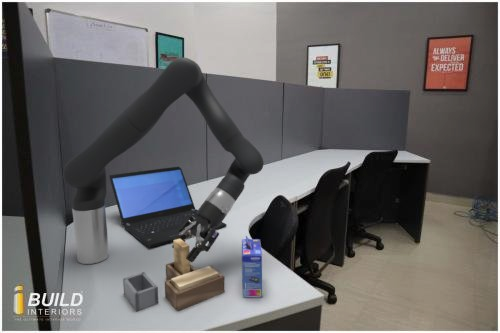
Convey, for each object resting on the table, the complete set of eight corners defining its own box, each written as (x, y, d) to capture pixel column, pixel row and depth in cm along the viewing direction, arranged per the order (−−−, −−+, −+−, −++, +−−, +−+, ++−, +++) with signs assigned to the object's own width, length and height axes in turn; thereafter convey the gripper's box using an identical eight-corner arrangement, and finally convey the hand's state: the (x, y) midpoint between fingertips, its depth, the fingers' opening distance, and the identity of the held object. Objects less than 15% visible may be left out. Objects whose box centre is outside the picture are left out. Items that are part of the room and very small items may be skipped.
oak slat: (174, 279, 96) (173, 240, 93) (181, 277, 97) (179, 238, 94) (183, 288, 91) (182, 247, 89) (190, 285, 93) (189, 245, 90)
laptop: (148, 251, 114) (145, 196, 110) (111, 219, 142) (108, 175, 138) (227, 227, 135) (227, 181, 131) (182, 204, 163) (180, 165, 159)
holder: (124, 294, 88) (123, 278, 87) (145, 287, 92) (144, 272, 91) (136, 311, 81) (135, 294, 80) (158, 303, 85) (157, 286, 84)
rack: (152, 283, 94) (151, 268, 93) (196, 268, 102) (195, 255, 101) (177, 311, 82) (177, 294, 81) (224, 292, 90) (224, 276, 89)
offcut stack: (170, 298, 87) (169, 279, 86) (209, 283, 94) (209, 265, 93) (179, 307, 83) (178, 287, 82) (219, 291, 90) (218, 273, 89)
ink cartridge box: (241, 278, 97) (241, 230, 94) (260, 277, 97) (261, 230, 94) (241, 298, 87) (242, 246, 84) (262, 298, 87) (264, 246, 84)
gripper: (195, 194, 100) (161, 239, 96) (222, 206, 89) (184, 258, 85) (211, 207, 105) (178, 251, 100) (238, 221, 94) (203, 271, 89)
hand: (181, 254), depth 92 cm, fingers open, 8 cm apart
